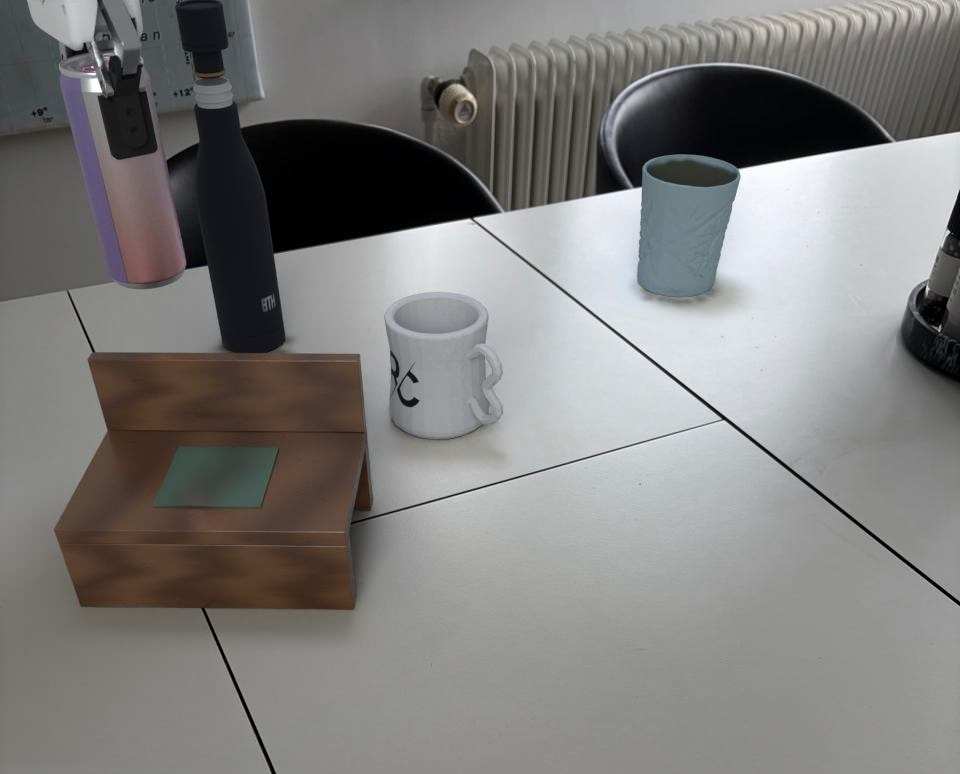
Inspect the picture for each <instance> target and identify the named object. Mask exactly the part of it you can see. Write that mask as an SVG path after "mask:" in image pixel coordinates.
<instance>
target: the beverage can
mask: <svg viewBox="0 0 960 774" xmlns="http://www.w3.org/2000/svg"><path fill="white" fill-rule="evenodd" d="M110 56H115V52H114V53H108V54H103V57H104V60H105V63H106V67H107V70H108V69H109V65H108V62H109V59H110ZM144 61H145V60H144V58H143V57H142V56H141V61H140V62H141V64H143V67H142V72H143V75H144V79H145V82H146V92H147V97H148V101H149V106H150V111H151V116H152V121H153V126H154V131H155V136H156V141H157V146H158V149H157V151H156V152H155V153H152V154H147V155H142V156H137V157H132V158H127V159H122V160H117V159H115V158H114V157H113V156H112V155H111V153H110V149H109V144H108V140H107V136H106V132H105V127H104V123H103V119H102V115H101V110H100V106H99V102H98V97H97V96H99V95H103V94H102V91H101V88H100V85H99V82H98V79H97V76H96V73H95V70H94V67H93V64H92V61H91V58H90V55H89V53H85V54H80V55H76V56H72V57H69V58H67V59H65V60H63V61H62V60H61V61H60V62H59V63H58V70H59V71H60V76H59V77H60V80H59V86H60V90H61V94H62V97H63V101H64V105H65V106H64V107H65V109H66V113H67V118H68V120H69V126H70V129H71V133H72V137H73V142H74V145H75V149H76V152H77V157H78V161H79V165H80V168H81V173H82V177H83V181H84V184H85V189H86V193H87V196H88V201H89V204H90V208H91V212H92V216H93V220H94V224H95V228H96V232H97V235H98V236H97V237H98V241H99V244H100V248H101V252H102V256H103V259H104V264H105V268H106V271H107V274H108V276H110V278H111V279H112V281H114V282H115V283H116V284H117V285H119V286H120V287H123V288H126V289H131V290H152V289H158V288H163V287H165V286H169V285H172V284H173V283H176V282H177V281H178V280H180V279H181V277H183V275H184V273H185V270H186V267H187V258H186V253H185V248H184V243H183V239H182V233H181V229H180V228H181V227H180V224H179V218H178V213H177V208H176V203H175V198H174V192H173V188H172V184H171V183H172V181H171V177H170V174H169V173H170V172H169V169H168V168H169V167H168V163H167V162H168V161H167V158H166V153H165V147H164V143H163V138H162V133H161V127H160V122H159V118H158V117H159V116H158V112H157V108H156V102H155V97H154V93H153V88H152V83H151V77H150V74H149V73H148V71H147V69H146V66H145V62H144Z"/></svg>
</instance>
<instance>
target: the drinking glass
mask: <svg viewBox="0 0 960 774" xmlns="http://www.w3.org/2000/svg"><path fill="white" fill-rule="evenodd" d="M641 171H642V172H641V173H642V176H641V177H642V178H641V200H640V201H641V202H640V206H641V209H640V221H639V225H640V227H639V228H640V230H639V237H640V238H639V240H638V245H639V246H638V259H639V260H638V263H637V273H636V277H637V282H638V284H639V285H640V287H641V288H643V289H645V290H646V291H648V292H650V293H653V294H656V295H660V296H666V297H674V298H685V297H686V298H687V297H695V296H699V295H702V294H705V293H707V292H708V291H710V290H711V289H712V287H713V286H714V283H715V280H716V276H717V271H718V267H719V263H720V259H721V255H722V253H721V252H722V248H723V246H724V241H725V238H726V232H727V229H728V225H729V223H730V218H731V215H732V211H733V204H734V202H735V200H736V198H737V197H736V196H737V193H738V188H739V185H740V182H741V178H742V176H741V172H740V170H739V168H738V167H736V166H735V165H734V164H732V163H730V162H727V161H725V160H722V159H719V158H714V157H711V156H705V155H697V154H682V153H681V154H679V153H678V154H670V155H669V154H667V155H663V156H658V157H654V158H651V159H649V160H648V161H646V162H645V163H644V164H643V166H642V170H641Z"/></svg>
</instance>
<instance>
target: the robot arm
mask: <svg viewBox="0 0 960 774" xmlns="http://www.w3.org/2000/svg"><path fill="white" fill-rule="evenodd" d="M26 2H27V6H28V10H29V13H30V18H31V20H32V21H33V23H34V24H35V25H36V26H37V27H38V28H39V29H40V30H42V31H43V32H45V33H46V34H48V35H49V36H50V37H52V38H53V39H55V40H56V41H58V47H59V53H60V60H61V61H63V60H65V59H67V58H69V57H72V56H76V55H80V54H85V53H89V55H90V58H91V61H92V64H93V67H94V70H95V73H96V76H97V79H98V82H99V85H100V88H101V91H102V94H103V95H99V96H97V97H98V102H99V106H100V110H101V115H102V119H103V123H104V127H105V132H106V136H107V140H108V144H109V149H110V153H111V155H112V156H113V157H114V158H115V159H117V160H122V159H127V158H132V157H137V156H142V155H147V154H152V153H155V152H156V151H157V149H158V146H157V141H156V136H155V131H154V126H153V121H152V116H151V111H150V106H149V101H148V97H147V92H146V82H145V79H144V75H143V72H142V67H143V65H144V64H141V62H140V61H141V57H142V51H143V48H142V41H141V39H140V38H141V37H142V35H143V32H144V23H143V15H142V8H141V2H140V0H26ZM107 32H108V33H110V35H111V38H109V39H103V33H107ZM114 52H115V56H110V59H109V62H108V65H109V69H108V70H107V67H106V63H105V60H104V57H103V54H108V53H114Z"/></svg>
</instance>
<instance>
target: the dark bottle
mask: <svg viewBox="0 0 960 774" xmlns="http://www.w3.org/2000/svg"><path fill="white" fill-rule="evenodd" d="M174 8H175V13H176V14H175V15H176V19H177V24H178V30H179V36H180V42H181V47H182V48H181V49H182V50H183V51H185V52H188V53H191V57H192V63H193V68H194V69H193V73H194V75H195V76H196V78H197V79H195V80H194V81H193V87H192V91H193V92H194V94H195V95H194V100H195V102H196V103H195V104H194V107H193V110H194V111H193V112H194V116H195V121H196V122H195V123H196V127H197V134H198V139H199V141H198V147H197V148H198V149H197V153H196V154H197V155H196V156H197V157H196V163H195V172H194V173H195V174H194V175H195V177H194V191H195V192H194V193H195V195H194V196H195V206H196V211H197V216H198V221H199V227H200V231H201V238H202V242H203V248H204V253H205V258H206V264H207V268H208V273H209V280H210V285H211V290H212V295H213V300H214V307H215V311H216V318H217V322H218V327H219V331H220V339H221V343H222V345H223V347H224V349H225V350H227V351H229V352H230V353H270V352H271V351H274V350H276V349H277V348H280V347H281V346H282V345H283V344H284V343H285V341H286V331H285V322H284V316H283V308H282V303H281V302H282V301H281V295H280V289H279V281H278V274H277V267H276V261H275V260H276V259H275V253H274V245H273V239H272V232H271V226H270V225H271V224H270V218H269V211H268V205H267V203H268V202H267V197H266V191H265V188H264V184H263V181H262V178H261V176H260V173H259V170H258V168H257V164H256V162H255V160H254V158H253V156H252V154H251V152H250V150H249V147H248V145H247V143H246V140H245V139H244V137H243V135H242V128H241V121H240V115H239V114H240V113H239V108H238V104H237V102H235V100H233V98H234V94H233V93H232V89H233V86H232V85H231V83H230V79H228V78H227V77H225V76H224V75H225V74H226V73H227V71H226V68H225V63H224V59H223V53H222V51H224V50H226V49H228V48H229V39H228V31H227V25H226V24H227V23H226V19H225V12H224V5H223V3H222V2H221V1H220V0H183V1H180V2H178V3H176V4H175V7H174Z"/></svg>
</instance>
